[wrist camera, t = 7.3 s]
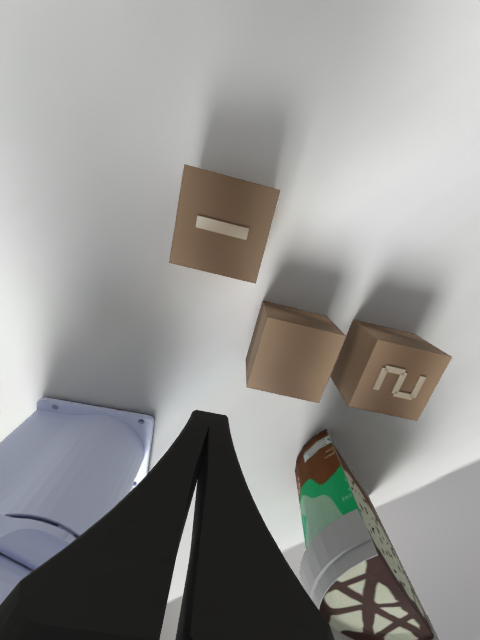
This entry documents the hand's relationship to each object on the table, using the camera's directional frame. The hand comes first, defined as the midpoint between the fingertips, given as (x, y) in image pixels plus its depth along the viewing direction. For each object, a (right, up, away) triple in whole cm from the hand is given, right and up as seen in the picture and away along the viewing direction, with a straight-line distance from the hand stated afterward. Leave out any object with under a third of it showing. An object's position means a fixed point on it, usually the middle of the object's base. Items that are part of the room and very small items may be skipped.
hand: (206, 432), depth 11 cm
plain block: (+5, +3, +10) cm, 12 cm away
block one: (0, +11, +7) cm, 13 cm away
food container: (+9, -10, +15) cm, 20 cm away
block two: (+12, +2, +11) cm, 16 cm away
